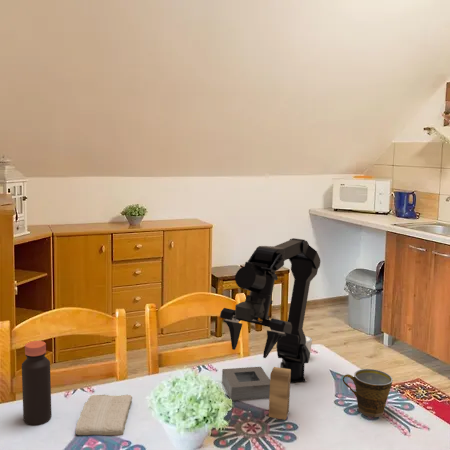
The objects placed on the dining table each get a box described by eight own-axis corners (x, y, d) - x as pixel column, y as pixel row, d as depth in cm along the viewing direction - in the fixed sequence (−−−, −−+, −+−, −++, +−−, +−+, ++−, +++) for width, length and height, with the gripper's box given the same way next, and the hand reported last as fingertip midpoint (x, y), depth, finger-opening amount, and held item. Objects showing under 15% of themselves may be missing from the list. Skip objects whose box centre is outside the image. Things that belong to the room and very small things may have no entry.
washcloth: (133, 401, 144) (132, 391, 143) (124, 437, 126) (124, 426, 126) (89, 401, 143) (89, 391, 143) (74, 438, 125) (74, 426, 125)
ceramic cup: (390, 406, 144) (393, 372, 143) (389, 424, 135) (392, 387, 133) (342, 397, 149) (345, 364, 147) (338, 414, 139) (340, 379, 138)
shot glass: (310, 363, 171) (311, 343, 170) (289, 361, 173) (290, 341, 172) (311, 355, 178) (312, 335, 177) (291, 353, 179) (292, 333, 178)
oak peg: (272, 408, 141) (273, 366, 139) (288, 411, 140) (290, 369, 138) (268, 416, 137) (270, 373, 135) (285, 419, 136) (287, 376, 134)
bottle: (25, 428, 128) (22, 351, 125) (21, 415, 134) (19, 341, 131) (53, 422, 131) (51, 347, 128) (49, 409, 137) (47, 337, 134)
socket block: (260, 378, 159) (260, 366, 158) (272, 397, 147) (272, 384, 147) (222, 381, 156) (222, 369, 156) (231, 400, 145) (231, 387, 144)
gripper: (215, 283, 134) (202, 344, 132) (280, 296, 125) (267, 362, 122) (236, 289, 144) (224, 346, 141) (297, 301, 134) (286, 362, 132)
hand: (248, 353), depth 134 cm, fingers open, 9 cm apart
